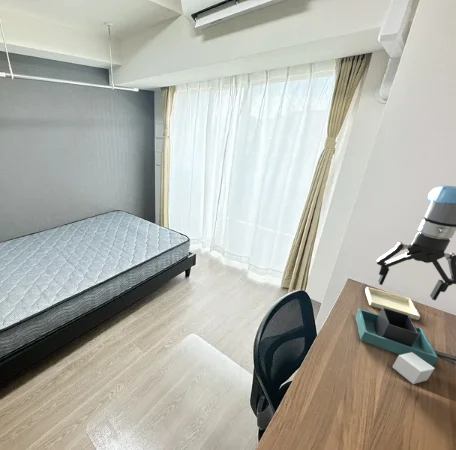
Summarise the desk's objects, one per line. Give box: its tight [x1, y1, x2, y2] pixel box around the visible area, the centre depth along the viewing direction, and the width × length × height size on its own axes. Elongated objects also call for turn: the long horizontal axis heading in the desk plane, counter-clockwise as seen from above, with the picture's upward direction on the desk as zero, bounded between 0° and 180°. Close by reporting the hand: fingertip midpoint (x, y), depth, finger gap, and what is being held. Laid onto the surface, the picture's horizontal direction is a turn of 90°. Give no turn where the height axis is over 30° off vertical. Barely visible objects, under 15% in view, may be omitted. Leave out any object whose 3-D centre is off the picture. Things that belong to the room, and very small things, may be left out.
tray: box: [364, 286, 421, 321], centre depth 112 cm, size 16×14×2 cm
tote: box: [355, 308, 439, 367], centre depth 92 cm, size 20×16×5 cm
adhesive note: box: [392, 352, 436, 386], centre depth 78 cm, size 6×6×6 cm
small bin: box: [374, 307, 419, 347], centre depth 91 cm, size 8×11×9 cm
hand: (405, 290), depth 85 cm, fingers open, 13 cm apart
